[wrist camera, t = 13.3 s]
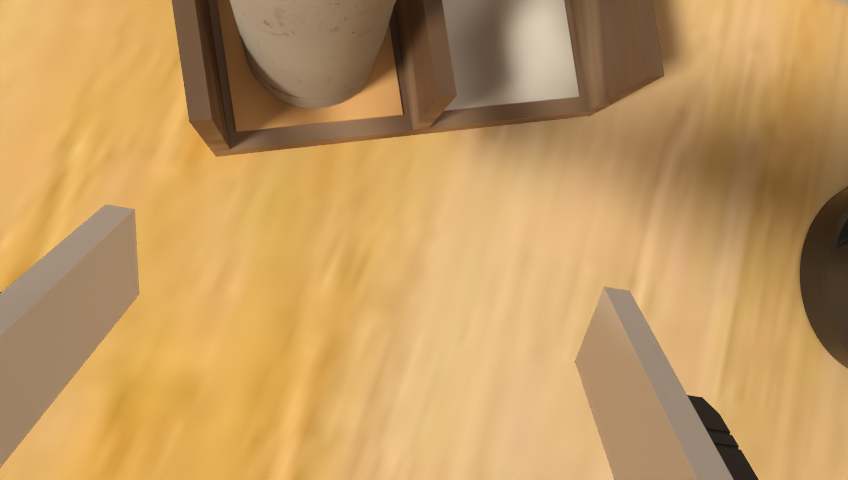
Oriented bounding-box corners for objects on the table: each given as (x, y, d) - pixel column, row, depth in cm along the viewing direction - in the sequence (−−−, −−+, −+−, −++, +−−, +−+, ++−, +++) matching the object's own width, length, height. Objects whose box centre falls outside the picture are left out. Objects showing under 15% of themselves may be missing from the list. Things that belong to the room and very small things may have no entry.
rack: (562, -62, 41) (628, -147, 33) (590, 115, 41) (664, 75, 32) (186, -47, 36) (151, -143, 27) (216, 156, 36) (189, 121, 27)
